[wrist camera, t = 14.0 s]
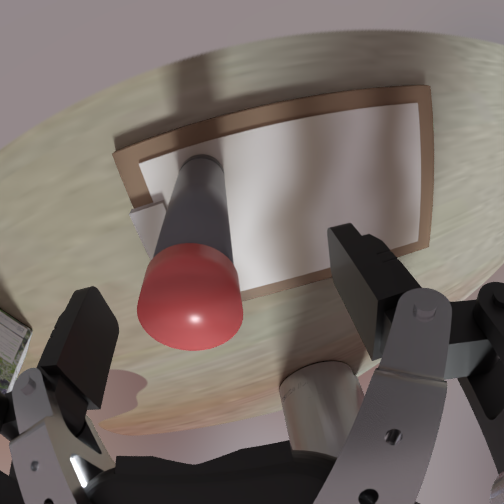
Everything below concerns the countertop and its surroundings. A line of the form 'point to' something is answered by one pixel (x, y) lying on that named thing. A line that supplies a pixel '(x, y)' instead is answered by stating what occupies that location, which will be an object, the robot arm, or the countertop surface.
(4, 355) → the syrup box
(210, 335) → the marker
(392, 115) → the clipboard
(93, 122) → the countertop surface
